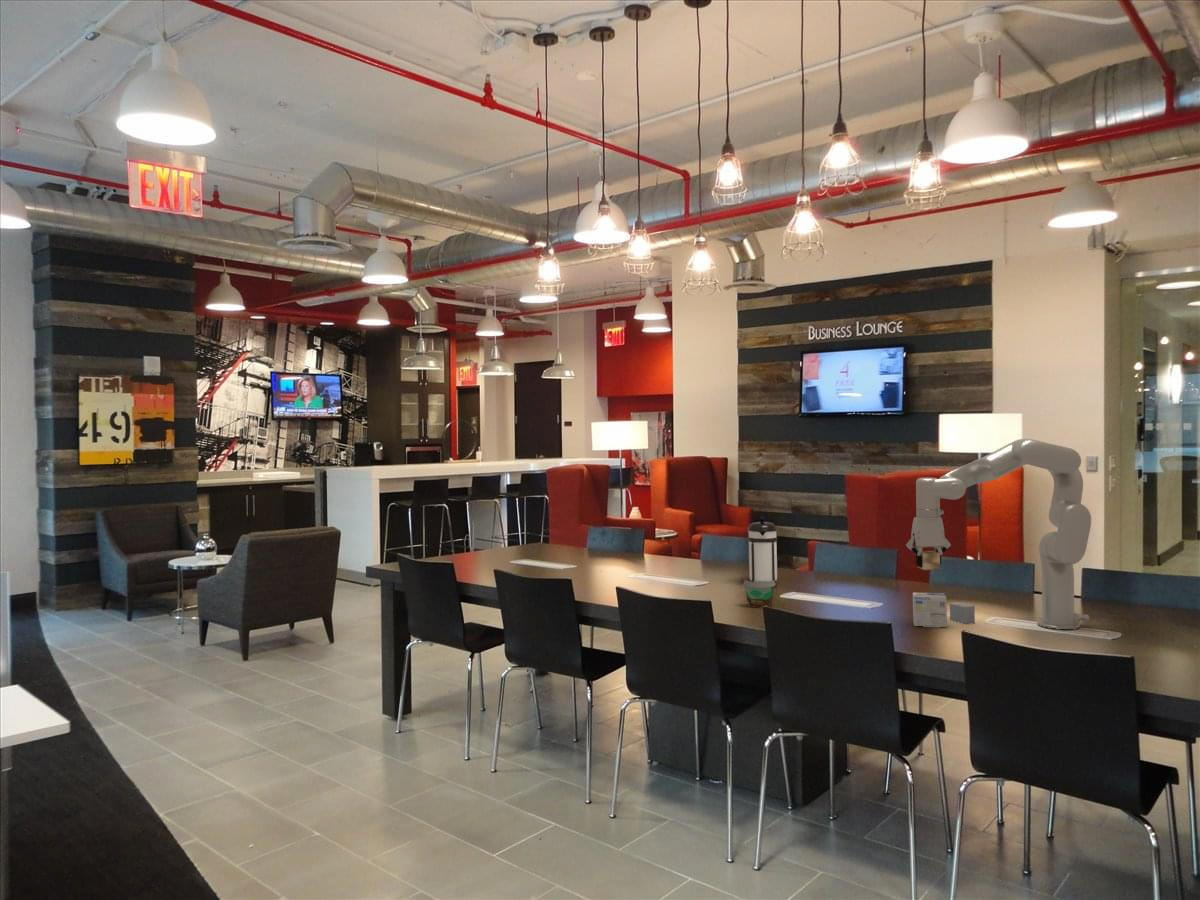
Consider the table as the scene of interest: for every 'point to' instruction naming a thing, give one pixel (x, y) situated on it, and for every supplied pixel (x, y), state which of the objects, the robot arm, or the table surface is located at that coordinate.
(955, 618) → the slate block
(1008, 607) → the table surface
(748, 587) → the food container
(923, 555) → the oak cube
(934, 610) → the light bulb box
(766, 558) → the coffee press
